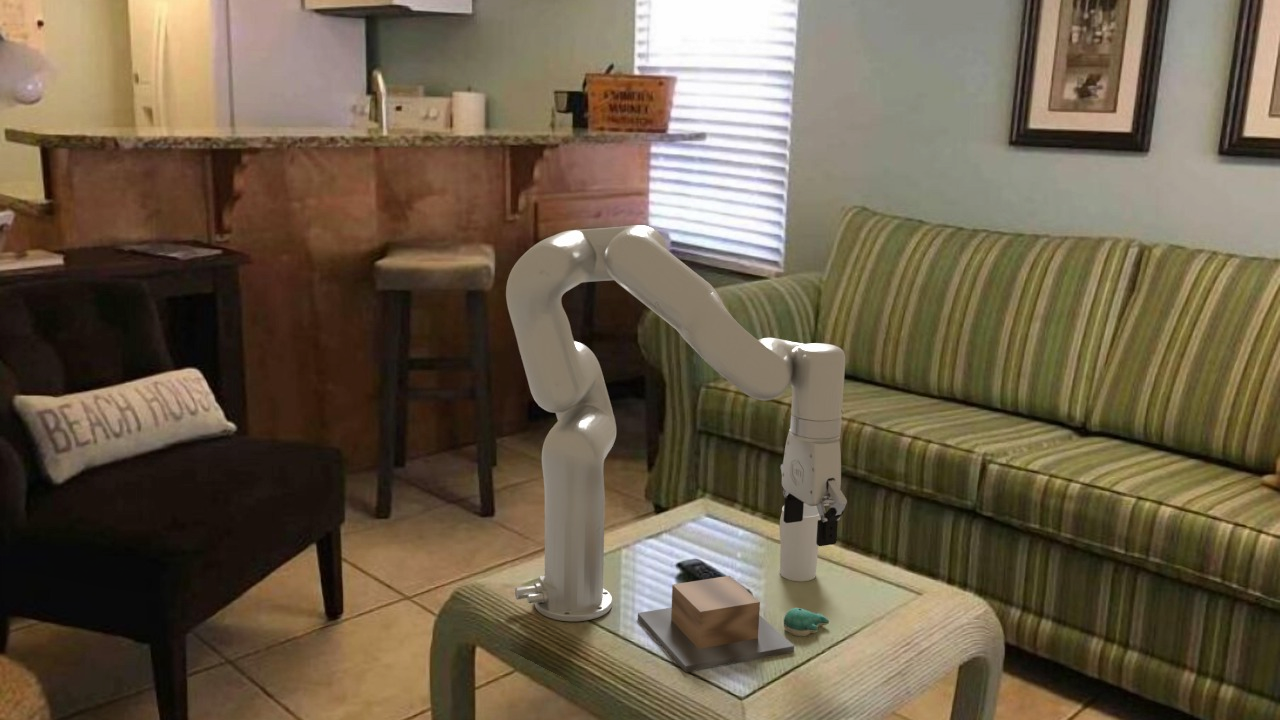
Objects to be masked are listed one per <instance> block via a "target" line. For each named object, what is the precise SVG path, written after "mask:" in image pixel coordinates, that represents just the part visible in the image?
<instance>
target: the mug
mask: <svg viewBox="0 0 1280 720" xmlns="http://www.w3.org/2000/svg"><path fill="white" fill-rule="evenodd" d="M818 520H821V519H820V515H819V512H818V509H817V506H809V505H807V504H806V503H804V506H803V520H802V521H799V522H792V523H785V522H784V505H782V508H781V515H780V518H779V540H780V554H779V573H780V575H781V577H783V578H784V579H787V580H789V581H793V582H809V581H812V580H813V579H815V577H816V575H817V564H818V554H819V553H818V552H819V546H818V545H817V544H816V540H817V524H818Z"/></svg>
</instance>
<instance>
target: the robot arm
mask: <svg viewBox="0 0 1280 720" xmlns="http://www.w3.org/2000/svg"><path fill="white" fill-rule="evenodd" d="M602 281H603V282H604V281H615V282H616V283H617V284H618V285H619V286H620V287H622V288H623V289H624V290H625V291H627V292H628V293H629V294H631V295H632V296H633V297H635V299H637V300H638V301H639V302H641V303H642V304H643V305H645V306H646V307H647V308H648V309H650V310H651V311H652V312H653V313H654V314H656V315H657V316H659V317H660V318H661V319H662V320H664V321H665V322H666V323H667V324H669V325H670V326H671V327H672V328H674V329H675V330H676V331H677V332H678V333H679V334H680V336H681V337H682V339H683V340H684V341H685V342H686V343H687V344H688V345H689V346H690V347H691V348H692V349H693V350H694V351H695V352H696V353H697V355H699V356H700V357H701V359H702V360H704V361H705V363H707V364H708V366H710V368H712V369H713V370H714V371H716V372H717V373H718V374H719V375H720V376H722V378H724V379H725V380H727V382H729V383H730V384H732V385H733V386H734V387H735V388H737V389H738V390H739V391H740V392H742V393H744V394H745V395H747V396H748V397H750V398H753V399H755V400H759V401H771V400H775V399H777V398H779V397H780V396H782V395H783V394H784V393H786V390H787V389H788V388H789V386H790V387H791V391H792V392H791V393H792V394H791V408H790V409H791V410H790V426H789V427H790V428H789V430H788V434H787V438H786V441H785V446H784V447H785V448H784V452H783V453H784V454H783V461H782V464H780V472H781V486H782V487H783V491H782V494H783V497H784V505H783V506H784V522H785V523H792V522H799V521H802V520H803V506H804V504H807V505H809V506H816V507H817V509H818V512H819V515H820V519H821V520H818V524H817V540H816V544H817V545H818V547H824V546H825V547H826V546H831V545H835V544H836V543H837V539H838V538H837V537H838V524H839V522H838V521H840V520H841V517H842V516H843V514H844V510H845V507H846V505H847V503H848V501H847V497H845V495H844V493H843V491H842V490H841V485H842V484H841V482H842V455H841V454H842V452H841V443H840V439H841V433H842V431H841V430H842V419H843V418H842V417H843V416H842V415H843V414H842V413H843V403H844V402H843V401H844V386H845V385H844V384H845V371H846V354H845V352H844V350H843V349H842V348H841V347H839V346H837V345H834V344H830V343H822V342H821V343H819V342H814V343H811V342H810V343H800V342H795V341H790V340H786V339H781V338H775V337H764V338H760V339H757V338H756V337H754V336H753V335H752V334H751V333H749V331H748V330H746V329H745V328H744V327H743V326H742V325H741V324H739V322H738V321H737V320H736V319H735V318H734V317H733V316H732V315H731V313H730V312H729V311H728V309H727V308H726V307H725V305H724V303H723V300H722V299H721V298H720V295H719V293H718V292H717V291H716V289H715V288H714V286H713V285H712V284H711V283H709V282H708V281H707V280H705V279H704V278H703V277H702V276H701V275H699V274H698V273H697V272H695V271H694V270H692V268H690V267H689V266H688V265H686V264H685V263H684V262H683V261H681V260H680V259H679V258H678V257H677V256H675V255H674V254H673V253H671V252H670V251H669V250H668V245H667V242H666V241H665V238H664V237H663V236H662V234H661V233H660V232H659V231H658V230H656V229H655V228H653V227H650V226H648V225H641V224H635V225H633V224H632V225H624V226H623V225H622V226H616V227H615V226H614V227H613V226H612V227H600V228H597V227H596V228H585V229H572V230H571V229H570V230H565V231H562V232H559V233H556V234H555V235H552V236H549V237H547V238H545V239H542V240H540V241H539V242H537V243H536V244H534V245H533V246H531V247H530V248H529V249H528V250H527V251H526V252H524V254H523V255H522V256H520V258H518V260H517V261H516V263H515V264H514V266H513V267H512V269H511V270H510V273H509V274H508V279H507V282H506V287H505V289H506V290H505V298H506V305H507V310H508V313H509V317H510V320H511V324H512V327H513V330H514V335H515V338H516V342H517V346H518V351H519V354H520V356H521V357H520V358H521V361H522V364H523V368H524V371H525V376H526V379H527V382H528V386H529V390H530V391H529V392H530V393H531V395H532V398H533V400H534V401H535V403H536V404H537V405H538V407H540V408H541V409H543V410H544V411H546V412H548V413H555V416H556V419H557V422H556V423H555V424H554V425H553V427H551V429H550V430H549V431H548V433H547V435H546V436H545V438H544V442H543V445H542V449H541V450H542V451H541V467H542V475H543V485H544V486H543V487H544V488H543V489H544V575H539V577H538V582H534V583H533V585H528V586H527V585H525V586H517V587H515V588H514V594H515V595H514V596H515V598H516V600H523V599H526V600H527V603H528V604H534V607H535V609H536V610H537V612H538V613H540V614H541V615H542V616H544V617H547V618H549V619H551V620H552V619H553V620H556V621H563V622H585V621H591V620H594V619H598V618H600V617H602V616H604V615H606V614H607V613H608V612H610V610H611V609H612V606H613V597H612V594H611V593H610V592H609V591H608V590H607V589H605V588H604V563H605V562H604V557H605V554H604V553H605V504H606V503H605V500H606V499H605V497H606V496H605V494H606V493H605V483H604V482H605V481H604V464H605V463H604V462H605V459H606V457H608V454H609V453H610V451H611V450H612V447H614V443H615V441H616V438H617V424H616V417H615V415H614V412H613V407H612V404H611V400H610V396H609V392H608V389H607V386H606V383H605V379H604V375H603V371H602V368H601V365H600V362H599V360H598V358H597V356H596V355H595V353H594V352H593V351H592V350H591V349H590V348H589V347H588V346H587V345H585V344H584V343H581V342H580V341H579V342H578V341H576V340H574V336H573V334H572V333H573V332H572V328H571V324H570V321H569V318H568V315H567V314H566V311H565V309H564V307H563V304H562V303H563V302H562V297H563V295H564V294H565V293H566V292H568V291H570V290H571V289H573V288H575V287H577V286H578V285H580V284H582V283H590V282H602ZM827 506H829V509H828V510H826V508H825V507H827Z"/></svg>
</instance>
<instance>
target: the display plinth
mask: <svg viewBox="0 0 1280 720" xmlns="http://www.w3.org/2000/svg"><path fill="white" fill-rule="evenodd" d="M671 585H672V588H671V607H665V608H661V609H654V610H647V611H641V612H638V613H637V620H638V621H639V622H640V623H641V625H643V627H644V628H645V629H646V630H647V631H648V632H649V633H650V635H652V636H653V638H654V639H655V640H656V641H657V642H658V643H659V645H660V646H662V648H663V649H664V650H665V652H667V654H668V655H669V656H670V657H671V658H672V659H673V661H674V662H675V663H676V664H677V665H678V666H679V667H680V669H682V670H683V672H685V673H691V672H695V671H700V670H706V669H712V668H715V667H716V668H717V667H721V666H726V665H732V664H737V663H743V662H749V661H755V660H759V659H765V658H769V657H774V656H779V655H781V656H782V655H785V654H786V655H787V654H790V653H795V645H794V644H793V643H792V642H790V640H788V639H787V638H786V637H785V636H784V635H782V633H781V632H779V631H778V630H777V629H776V628H774V626H772V625H771V623H770V622H768V621H767V620H766V619H765V618H763V616H761V615H760V612H761V611H760V607H761V601H760V600H758V599H757V598H756V597H755V596H754V595H753V594H752V593H751V592H749V591H748V590H747V589H746V588H745V587H744V586H742V585H741V584H740V583H739V582H738V581H736V580H735V579H734V578H733V577H732V576H731V575H726V576H719V577H718V576H717V577H713V578H706V579H700V580H694V581H693V580H692V581H688V582H687V581H686V582H680V583H674V584H671Z"/></svg>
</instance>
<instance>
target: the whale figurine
mask: <svg viewBox="0 0 1280 720" xmlns="http://www.w3.org/2000/svg"><path fill="white" fill-rule="evenodd" d="M829 622H830V621H829V619H828V618H827V617H826V616H824V615H822V614H821V613H819V612H818V613H815V612H813V611H809V610H807V609H803V608H800V607H794V608H792V609H789V611H787V612H786V613H785V615H784V618H783V627H784V630H786V632H788V633H789V634H791V635H793V636H796V637H797V636H798V637H806V636H809V635H810V634H811V633H818V632H819V627H820V626H826V625H829Z"/></svg>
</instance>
